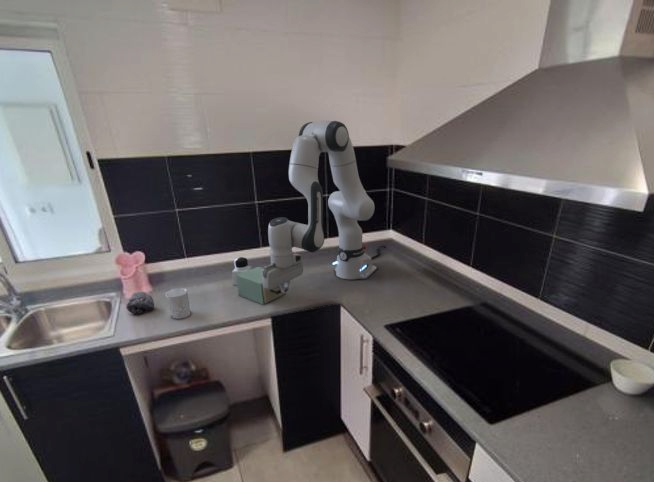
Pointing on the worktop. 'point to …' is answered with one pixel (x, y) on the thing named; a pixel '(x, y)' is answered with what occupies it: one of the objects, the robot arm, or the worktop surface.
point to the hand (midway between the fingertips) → (284, 291)
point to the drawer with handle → (271, 293)
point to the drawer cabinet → (252, 285)
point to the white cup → (178, 303)
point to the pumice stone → (140, 303)
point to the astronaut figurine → (240, 268)
